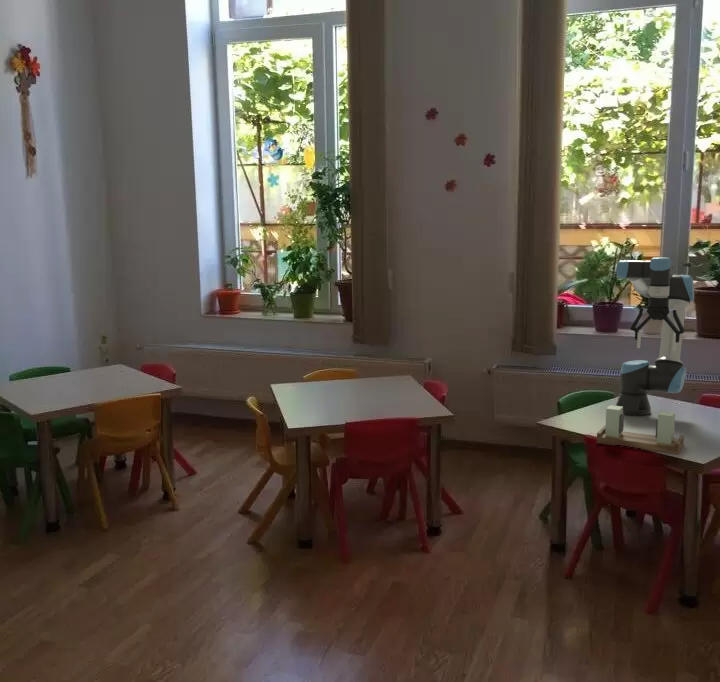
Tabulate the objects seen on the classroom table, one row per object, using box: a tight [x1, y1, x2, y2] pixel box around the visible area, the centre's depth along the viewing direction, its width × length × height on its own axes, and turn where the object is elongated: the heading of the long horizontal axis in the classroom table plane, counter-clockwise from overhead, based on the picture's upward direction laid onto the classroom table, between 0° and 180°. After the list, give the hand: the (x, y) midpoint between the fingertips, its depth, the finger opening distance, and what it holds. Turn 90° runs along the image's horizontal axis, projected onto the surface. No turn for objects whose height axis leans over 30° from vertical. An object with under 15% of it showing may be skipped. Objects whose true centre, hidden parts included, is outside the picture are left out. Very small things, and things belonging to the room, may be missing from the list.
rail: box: [596, 425, 685, 455], centre depth 293 cm, size 12×30×4 cm, turn 58°
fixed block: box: [605, 404, 625, 437], centre depth 297 cm, size 6×6×11 cm
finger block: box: [655, 410, 676, 444], centre depth 288 cm, size 6×6×11 cm
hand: (656, 349), depth 303 cm, fingers open, 13 cm apart
